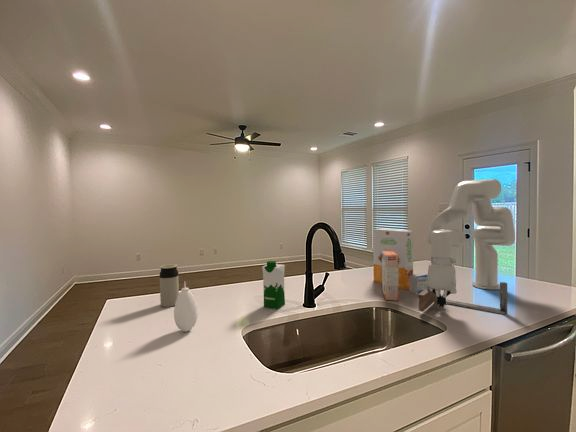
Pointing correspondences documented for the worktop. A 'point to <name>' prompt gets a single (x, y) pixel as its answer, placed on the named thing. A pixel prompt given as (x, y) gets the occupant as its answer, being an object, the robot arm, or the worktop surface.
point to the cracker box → (390, 275)
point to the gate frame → (495, 310)
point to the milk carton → (273, 284)
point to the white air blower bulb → (185, 310)
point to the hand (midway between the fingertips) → (441, 306)
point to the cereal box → (401, 246)
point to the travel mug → (169, 285)
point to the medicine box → (418, 283)
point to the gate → (426, 299)
